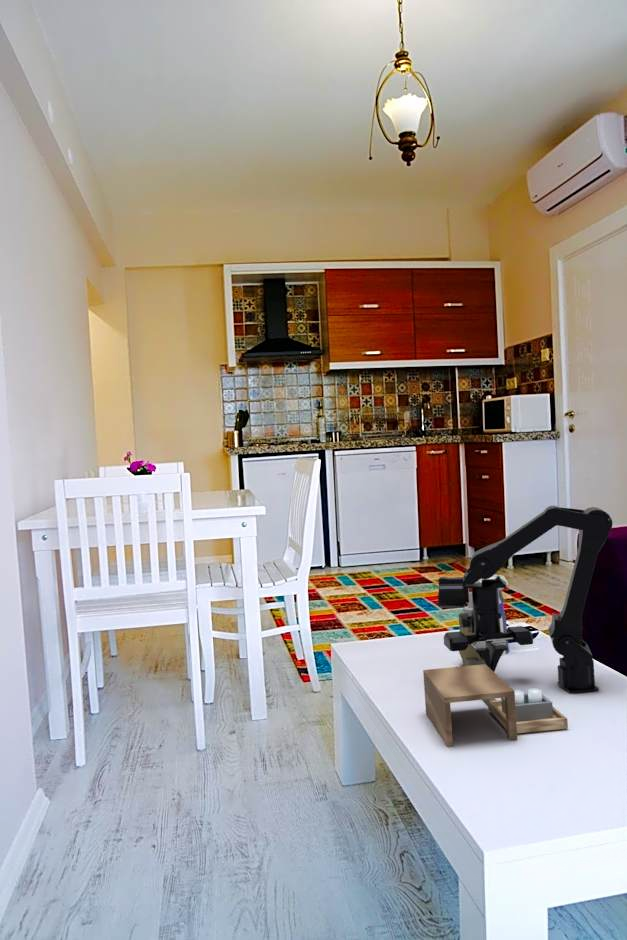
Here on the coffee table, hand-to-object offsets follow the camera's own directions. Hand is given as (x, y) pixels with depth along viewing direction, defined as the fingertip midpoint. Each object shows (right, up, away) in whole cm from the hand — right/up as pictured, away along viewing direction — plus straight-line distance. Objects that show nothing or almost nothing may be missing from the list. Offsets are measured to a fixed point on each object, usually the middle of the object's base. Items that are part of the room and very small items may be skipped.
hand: (490, 676), depth 153 cm
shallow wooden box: (+1, -2, -12) cm, 13 cm away
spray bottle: (+8, -1, +25) cm, 26 cm away
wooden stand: (-9, -3, -21) cm, 23 cm away
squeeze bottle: (0, -2, +14) cm, 14 cm away
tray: (+2, -1, -20) cm, 20 cm away
